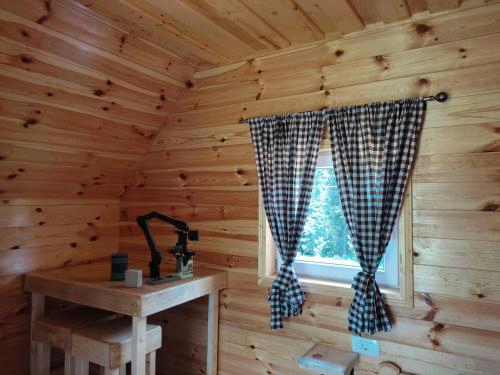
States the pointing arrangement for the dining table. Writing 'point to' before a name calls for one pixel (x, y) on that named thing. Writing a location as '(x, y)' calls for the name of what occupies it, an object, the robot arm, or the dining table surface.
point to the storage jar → (118, 266)
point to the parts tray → (183, 275)
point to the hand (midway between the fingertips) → (182, 266)
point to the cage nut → (181, 265)
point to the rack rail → (163, 279)
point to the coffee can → (189, 264)
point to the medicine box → (133, 278)
